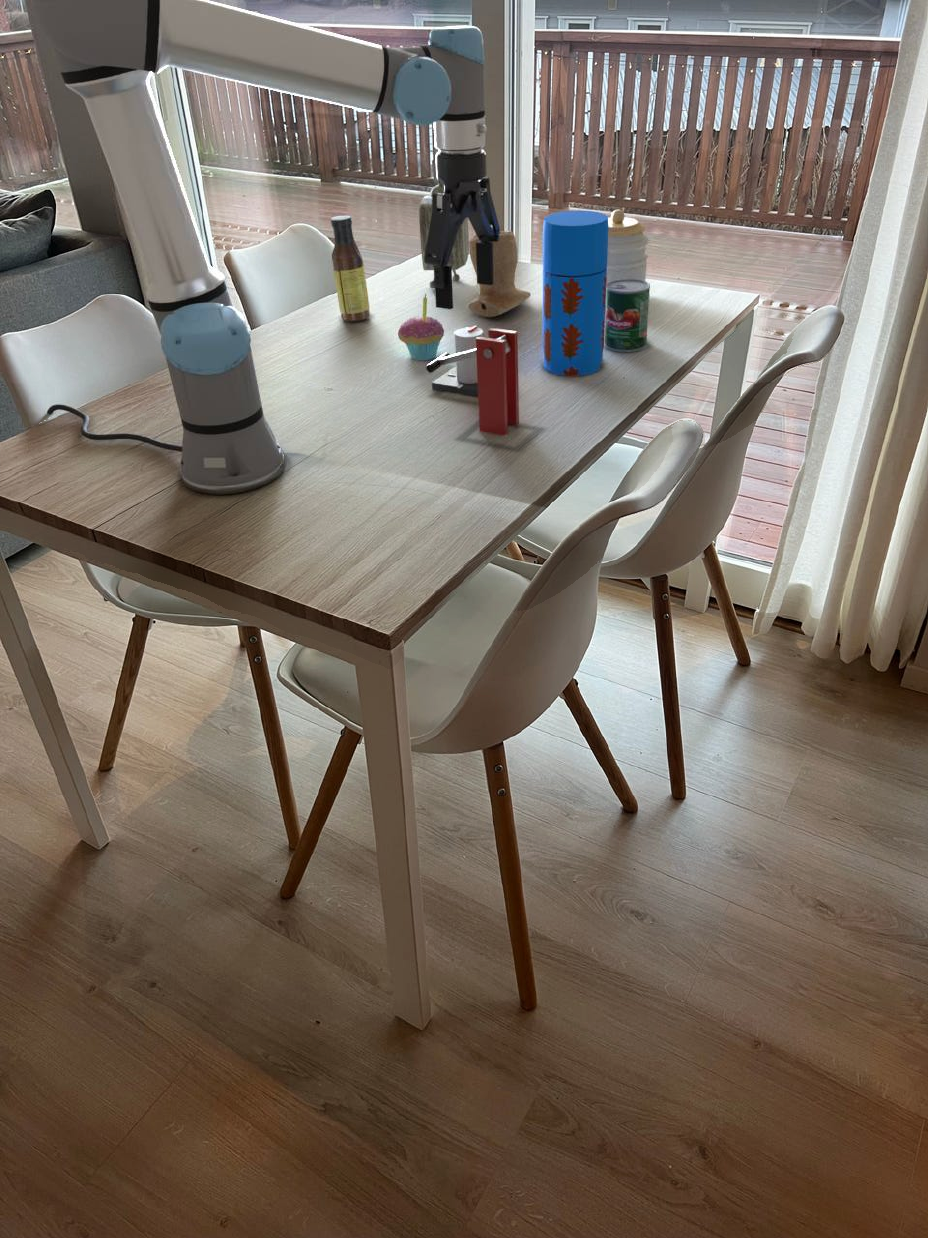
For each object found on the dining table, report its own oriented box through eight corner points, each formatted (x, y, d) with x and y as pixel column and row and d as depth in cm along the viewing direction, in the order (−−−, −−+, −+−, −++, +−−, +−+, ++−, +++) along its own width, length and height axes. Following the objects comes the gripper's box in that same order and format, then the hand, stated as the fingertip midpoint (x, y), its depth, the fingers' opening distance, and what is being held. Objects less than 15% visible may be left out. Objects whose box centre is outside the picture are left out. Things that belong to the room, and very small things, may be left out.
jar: (649, 306, 191) (655, 215, 181) (586, 309, 192) (588, 219, 181) (640, 287, 202) (645, 200, 191) (580, 290, 202) (582, 203, 192)
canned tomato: (645, 337, 177) (649, 278, 171) (647, 351, 171) (651, 291, 164) (603, 337, 178) (605, 279, 171) (604, 352, 172) (606, 292, 165)
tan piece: (489, 294, 203) (487, 221, 195) (537, 300, 198) (537, 226, 189) (452, 314, 193) (448, 239, 184) (502, 322, 188) (500, 245, 179)
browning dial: (477, 385, 155) (474, 336, 150) (452, 381, 157) (449, 333, 152) (490, 375, 159) (488, 327, 154) (465, 371, 161) (463, 323, 156)
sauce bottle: (376, 315, 195) (365, 215, 184) (358, 324, 191) (346, 222, 180) (352, 311, 198) (340, 212, 187) (333, 320, 194) (320, 219, 183)
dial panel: (431, 397, 159) (430, 382, 157) (456, 378, 165) (455, 364, 163) (488, 407, 154) (487, 392, 152) (512, 387, 160) (511, 372, 159)
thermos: (600, 377, 162) (606, 226, 147) (539, 375, 164) (539, 226, 149) (605, 354, 171) (611, 209, 156) (547, 353, 173) (547, 210, 158)
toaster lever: (429, 377, 143) (423, 362, 142) (446, 364, 146) (441, 350, 146) (499, 358, 135) (493, 343, 134) (515, 346, 139) (510, 330, 138)
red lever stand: (459, 439, 145) (453, 339, 135) (483, 419, 150) (479, 322, 141) (517, 450, 141) (515, 348, 131) (539, 429, 146) (539, 330, 137)
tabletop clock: (432, 272, 219) (424, 155, 204) (470, 271, 218) (465, 154, 203) (424, 291, 207) (415, 169, 192) (464, 290, 206) (458, 167, 191)
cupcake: (454, 354, 175) (451, 289, 168) (423, 367, 170) (417, 301, 163) (422, 344, 180) (417, 281, 173) (390, 357, 175) (384, 293, 168)
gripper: (440, 166, 127) (447, 321, 139) (520, 137, 144) (520, 276, 157) (394, 163, 130) (405, 315, 142) (477, 134, 147) (481, 272, 160)
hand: (465, 295), depth 150 cm, fingers open, 13 cm apart
